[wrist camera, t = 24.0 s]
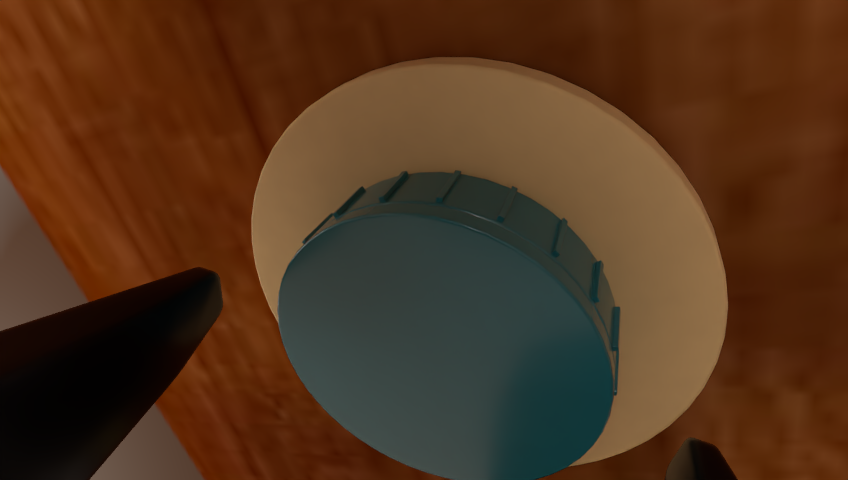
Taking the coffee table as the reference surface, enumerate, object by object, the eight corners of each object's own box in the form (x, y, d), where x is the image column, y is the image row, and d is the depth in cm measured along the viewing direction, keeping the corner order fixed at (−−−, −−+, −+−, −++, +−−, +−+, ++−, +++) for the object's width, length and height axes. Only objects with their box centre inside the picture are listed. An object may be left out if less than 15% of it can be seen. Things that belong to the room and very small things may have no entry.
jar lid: (321, 127, 10) (270, 161, 8) (679, 231, 9) (686, 292, 7) (313, 363, 14) (276, 413, 12) (562, 460, 12) (552, 528, 11)
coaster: (618, 501, 13) (618, 523, 13) (273, 369, 15) (261, 384, 15) (845, 134, 8) (859, 149, 7) (252, 5, 10) (231, 9, 9)
